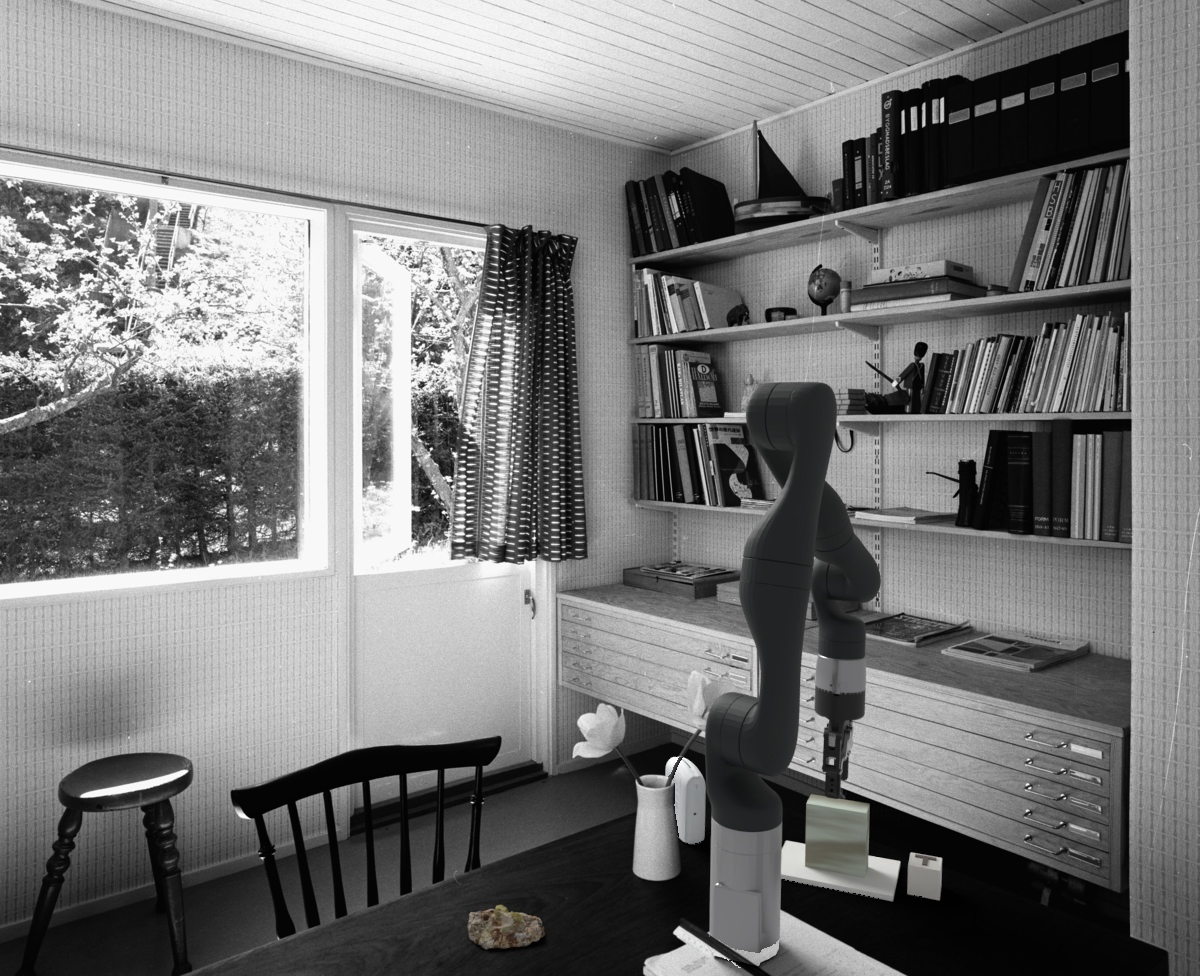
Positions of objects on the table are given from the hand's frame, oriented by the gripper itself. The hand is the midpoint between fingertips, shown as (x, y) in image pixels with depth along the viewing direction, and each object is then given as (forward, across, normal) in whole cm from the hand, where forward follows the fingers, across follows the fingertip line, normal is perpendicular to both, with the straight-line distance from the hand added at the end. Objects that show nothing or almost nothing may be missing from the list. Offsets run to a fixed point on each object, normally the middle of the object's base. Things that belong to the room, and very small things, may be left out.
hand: (836, 788), depth 140 cm
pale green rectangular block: (+12, 0, 0) cm, 13 cm away
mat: (+13, 0, 0) cm, 13 cm away
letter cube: (+13, 0, +13) cm, 19 cm away
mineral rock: (+15, +36, -38) cm, 54 cm away
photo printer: (+14, -4, -26) cm, 29 cm away
